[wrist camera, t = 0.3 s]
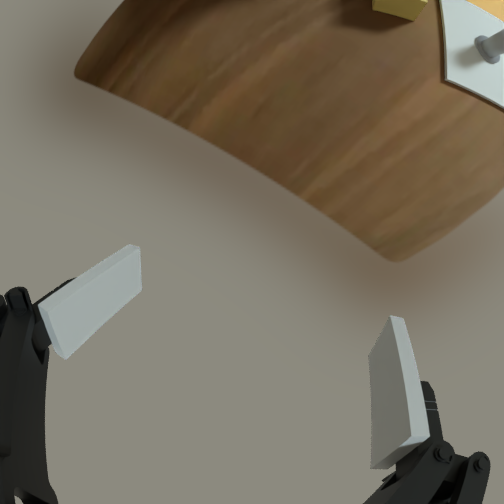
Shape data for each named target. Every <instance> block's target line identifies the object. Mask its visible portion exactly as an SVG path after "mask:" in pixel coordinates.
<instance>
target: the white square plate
mask: <svg viewBox="0 0 504 504" xmlns="http://www.w3.org/2000/svg"><path fill="white" fill-rule="evenodd" d="M439 4H440V11H441V18H442V28H443V40H444V60H445V81H448V82H450V83H453V84H455V85H457V86H460V87H462V88H464V89H466V90H468V91H470V92H473V93H475V94H477V95H479V96H481V97H483V98H485V99H487V100H488V101H490V102H492V103H494V104H496V105H498V106H499V107H501V108H503V109H504V22H503V21H501V20H499V19H498V18H496V17H495V16H493V15H491V14H490V13H488V12H486V11H484V10H483V9H481V8H479V7H477V6H475V5H473V4H472V3H470V2H468V1H466V0H439Z"/></svg>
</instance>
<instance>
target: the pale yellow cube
mask: <svg viewBox="0 0 504 504" xmlns="http://www.w3.org/2000/svg"><path fill="white" fill-rule="evenodd" d="M426 4H427V0H372V10H375V11H380V12H384V13H388V14H391V15H395V16H399V17H402V18H405V19H408V20H412V21H415V19H416V18H417V17H418V15H419V14H420V12H421V11H422V9H423V8H424V7H425V5H426Z"/></svg>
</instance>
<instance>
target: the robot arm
mask: <svg viewBox="0 0 504 504" xmlns="http://www.w3.org/2000/svg"><path fill="white" fill-rule="evenodd" d="M141 290H142V281H141V261H140V247H137V246H134V245H131V244H129V245H127V246H125V247H124V248H122V249H121V250H119V251H117V252H116V253H114V254H113V255H111V256H109V257H108V258H106V259H105V260H103V261H102V262H100V263H98V264H97V265H95V266H93V267H92V268H90V269H89V270H87V271H86V272H85V273H83V274H81V275H80V276H78V277H76V278H73V279H70V280H67V281H66V282H64V283H63V284H61V285H60V286H59V287H57V288H55V289H54V291H51V292H49V293H48V294H47V295H45V296H44V297H43V298H41V299H40V300H38V301H37V302H35V303H34V304H32V303H31V300H30V297H29V294H28V291H27V289H26V288H24V287H15V288H12V289H10V290H9V291H8V292H7V293H6V294H5V295H4V297H5V299H4V297H3V296H2V295H0V504H15V498H14V495H15V496H17V497H19V498H20V499H21V500H22V502H23V504H58V501H57V497H56V494H55V492H54V490H53V489H52V487H51V486H50V483H49V480H48V472H47V462H46V448H45V394H46V380H47V369H48V360H49V348H48V346H49V345H50V344H52V345H53V348H54V350H55V352H56V353H57V354H58V355H60V356H61V357H62V358H64V359H65V360H66V359H67V358H68V357H69V356H70V355H72V354H73V352H75V351H76V350H77V349H78V348H79V347H80V346H81V345H82V344H83V343H84V342H85V341H86V340H87V339H88V338H90V336H92V335H93V334H94V333H95V332H96V331H97V330H98V329H99V328H100V327H101V326H102V325H104V324H105V323H106V322H107V321H108V320H109V319H110V318H111V317H112V316H113V315H115V314H116V313H117V312H118V311H119V310H120V309H121V308H122V307H123V306H125V305H126V304H127V303H128V302H129V301H130V300H131V299H132V298H134V297H135V296H136V295H137V294H138V293H139V292H140V291H141ZM5 300H6V302H7V305H6V302H5ZM368 357H369V370H370V385H371V386H370V387H371V419H372V437H371V439H372V440H371V441H372V442H371V469H389V468H390V467H391V466H393V465H394V464H396V471H395V472H393V473H392V474H390V475H389V476H387V477H386V478H384V479H383V480H382V481H383V482H384V481H385V482H384V483H383V484H382V485H381V486H380V487H379V488H378V489H377V490H376V492H375V493H374V494H372V496H370V498H368V499H367V500H366V501H365V503H363V504H482V501H483V497H484V494H485V490H486V486H487V482H488V477H489V473H490V460H489V458H488V456H487V455H486V454H485V453H483V452H476V453H474V454H473V455H471V456H470V457H469V458H467V457H464V456H461V455H457V454H455V452H454V449H453V447H452V446H451V445H450V444H449V443H448V442H446V441H444V440H443V436H442V430H441V424H440V418H439V413H438V411H437V409H438V408H437V404H436V403H435V402H436V399H435V395H434V391H433V389H432V388H431V386H430V384H429V383H428V382H425V381H420V378H419V374H418V369H417V366H416V361H415V358H414V353H413V350H412V346H411V342H410V339H409V336H408V332H407V328H406V325H405V322H404V319H403V318H400V317H396V316H392V315H390V316H389V318H388V320H387V322H386V324H385V326H384V328H383V330H382V332H381V334H380V336H379V338H378V340H377V341H376V343H375V345H374V347H373V348H372V350H371V352H370V354H369V356H368Z"/></svg>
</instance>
